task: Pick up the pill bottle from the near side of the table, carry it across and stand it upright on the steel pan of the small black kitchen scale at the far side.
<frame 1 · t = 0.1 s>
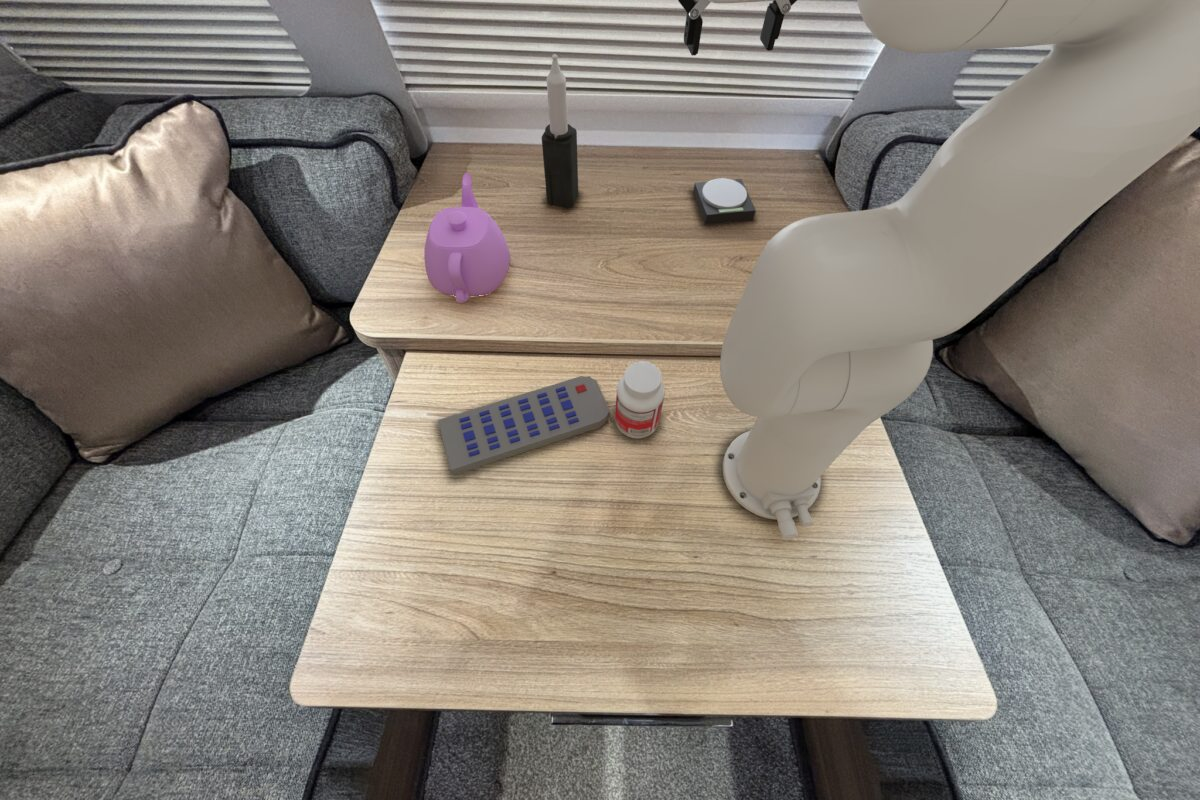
hand: (729, 47, 67), 31 cm above the table, tool pointing down, fingers open, 9 cm apart
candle: (562, 199, 99), on the table
clementine: (818, 270, 90), on the table
scale: (722, 206, 98), on the table
remote control: (525, 427, 74), on the table
pill bottle: (636, 421, 75), on the table
teapot: (472, 270, 89), on the table
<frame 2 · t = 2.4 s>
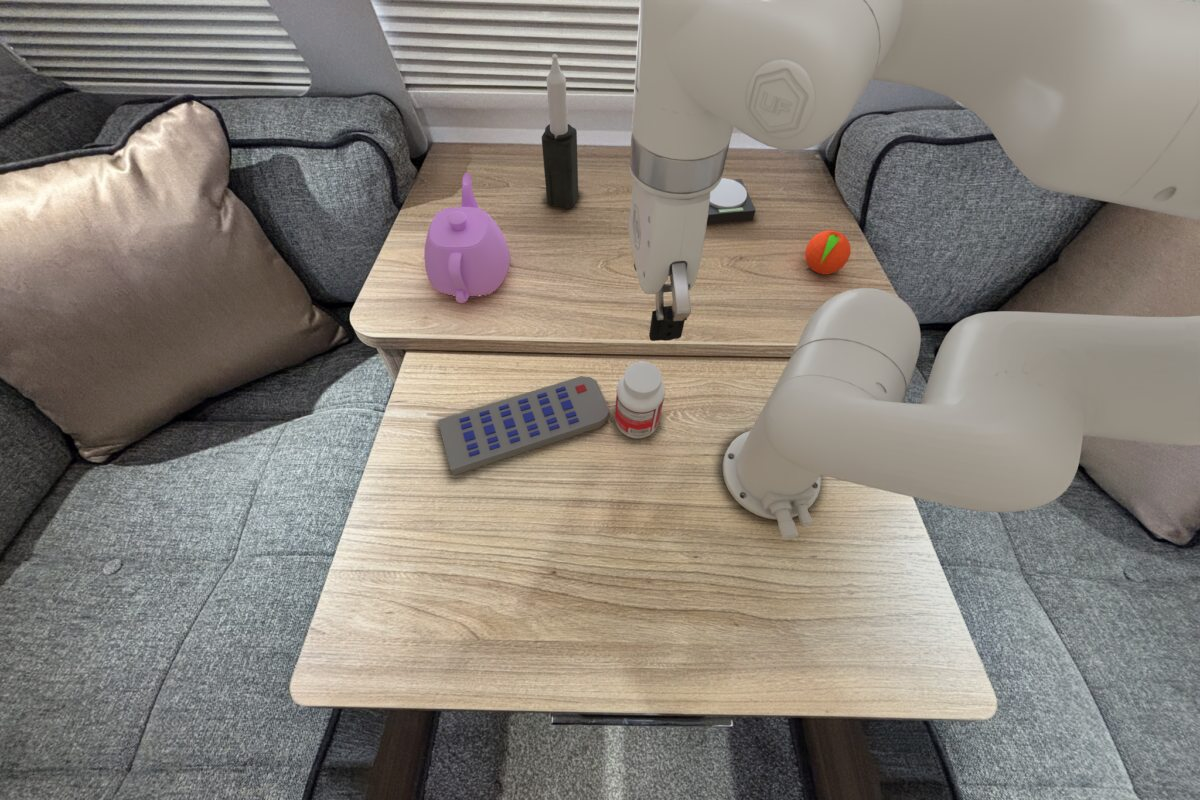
hand: (656, 301, 56), 22 cm above the table, tool pointing down, fingers open, 9 cm apart
nothing on the table moved.
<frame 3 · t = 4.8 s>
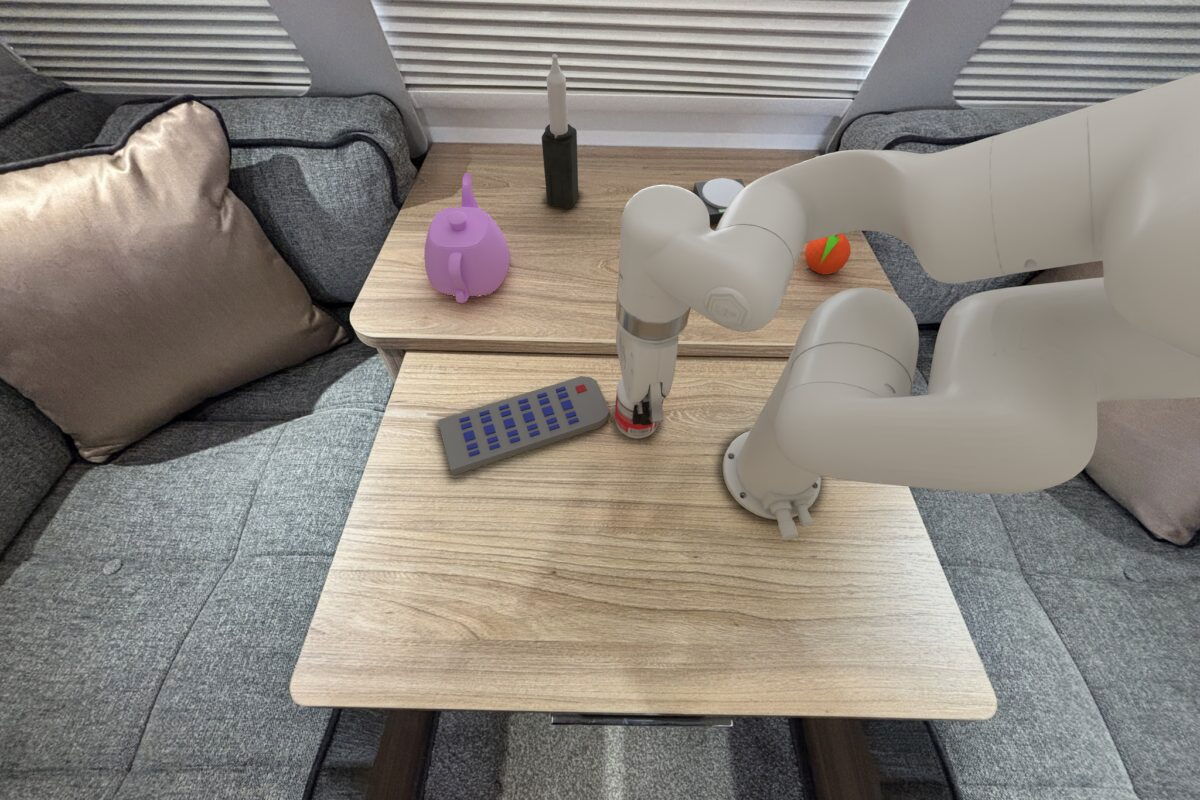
hand: (639, 397, 69), 6 cm above the table, tool pointing down, fingers closed on pill bottle, 6 cm apart
pill bottle: (636, 421, 75), on the table, touching gripper
everything else where it was.
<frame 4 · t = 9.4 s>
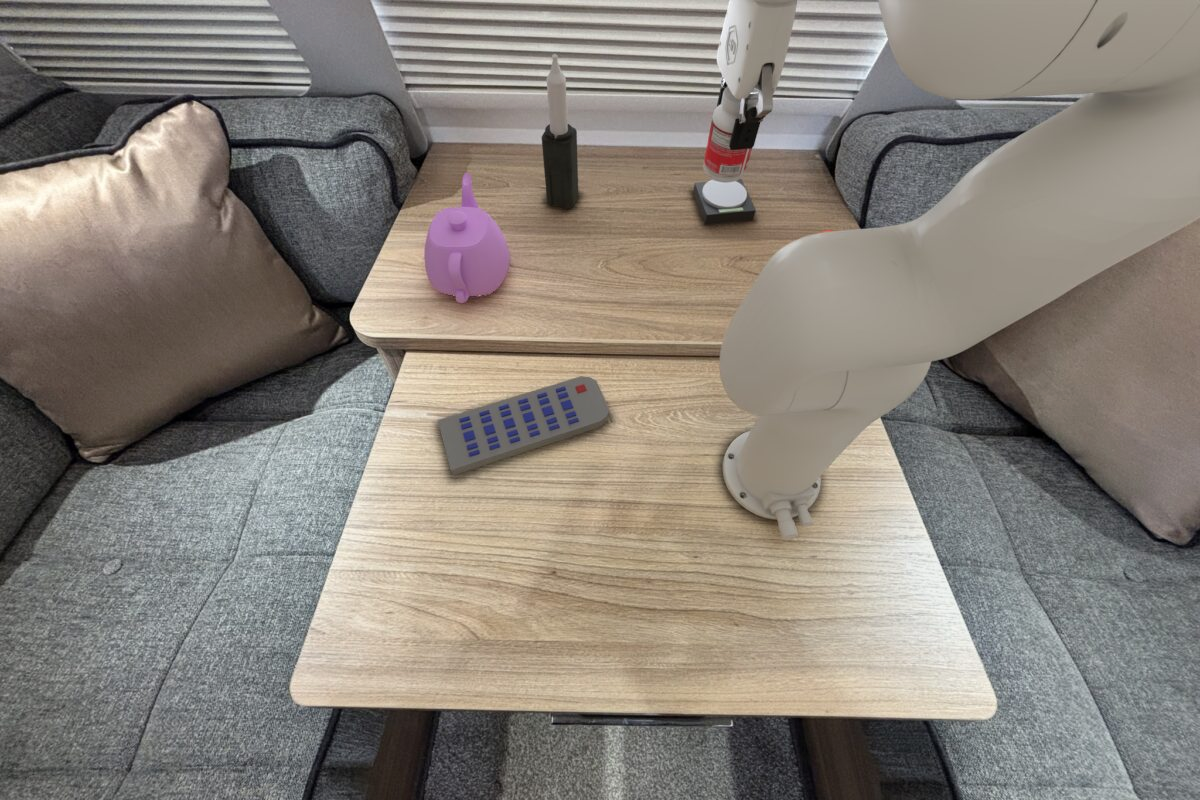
hand: (733, 131, 72), 23 cm above the table, tool pointing down, fingers closed on pill bottle, 6 cm apart
pill bottle: (723, 172, 77), point 17 cm above the table, touching gripper
everything else where it was.
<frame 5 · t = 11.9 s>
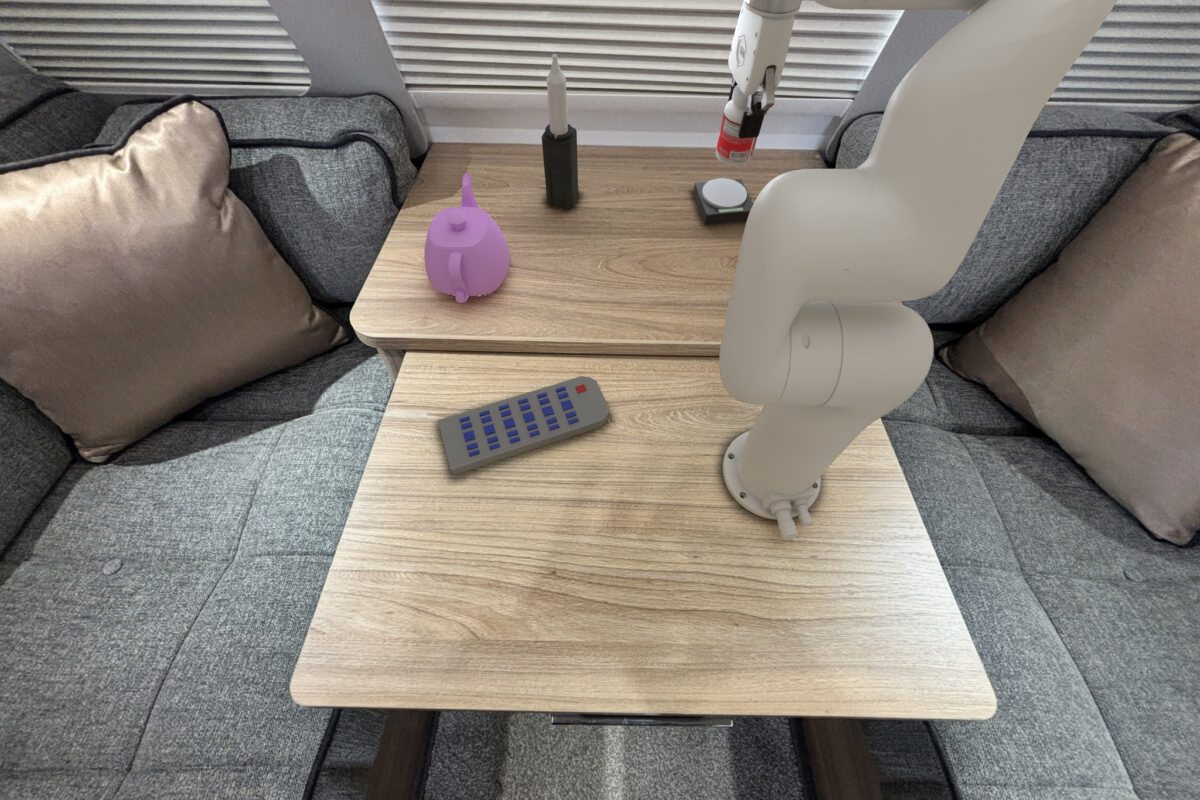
hand: (741, 123, 85), 16 cm above the table, tool pointing down, fingers closed on pill bottle, 6 cm apart
pill bottle: (732, 158, 90), point 10 cm above the table, touching gripper
everything else where it was.
when the fingers open (9 cm above the table, at t = 14.0 s): pill bottle stays where it is, resting on scale.
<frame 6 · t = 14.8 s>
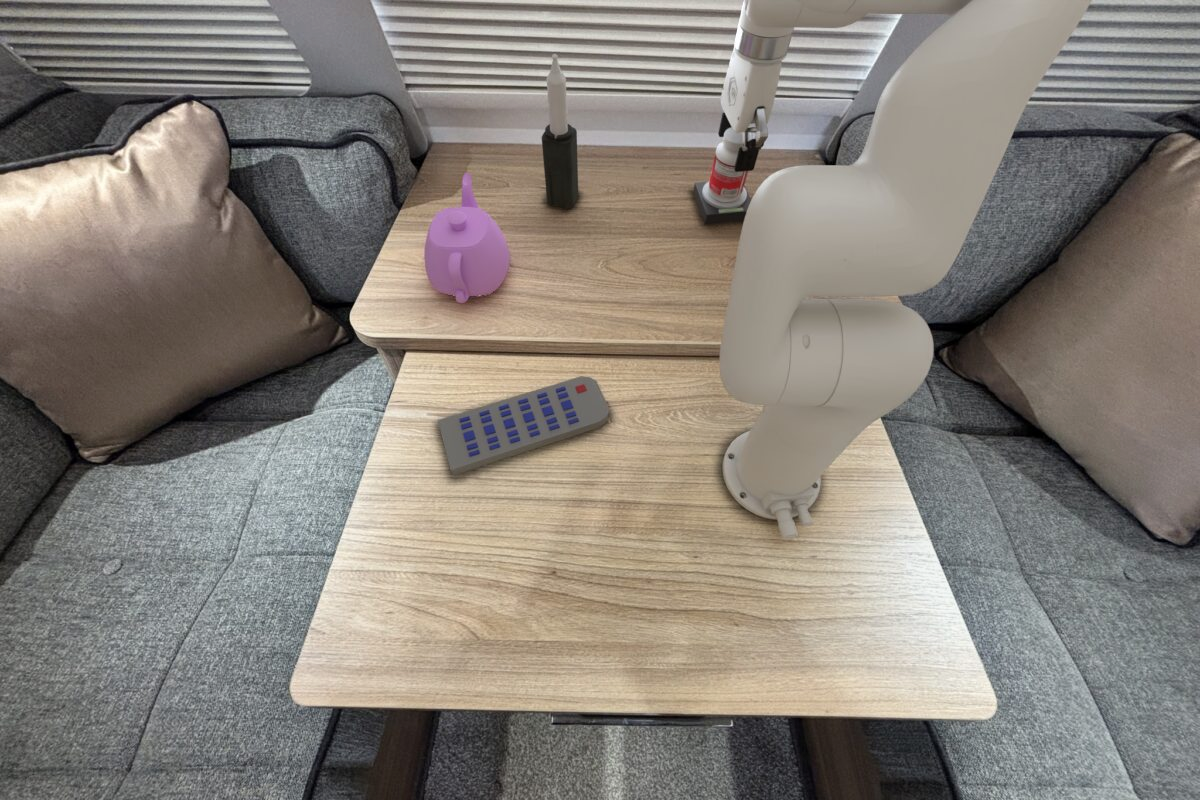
hand: (735, 152, 89), 11 cm above the table, tool pointing down, fingers open, 9 cm apart
pill bottle: (724, 193, 96), point 3 cm above the table, touching scale
everything else where it was.
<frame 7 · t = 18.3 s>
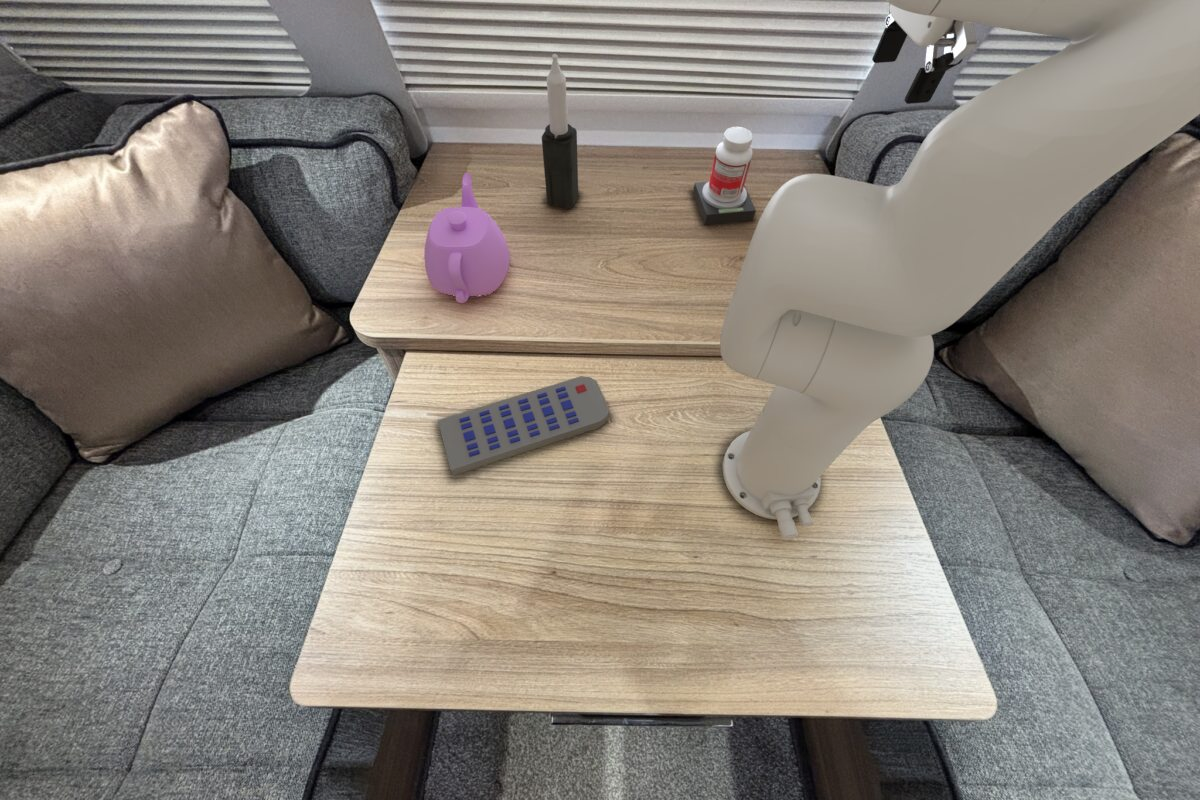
hand: (899, 80, 69), 28 cm above the table, tool pointing down, fingers open, 9 cm apart
nothing on the table moved.
at the end: pill bottle 0.3 cm off-centre on the scale, point 2.6 cm above the scale's base; pill bottle tilted 0°; the gripper is holding nothing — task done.
